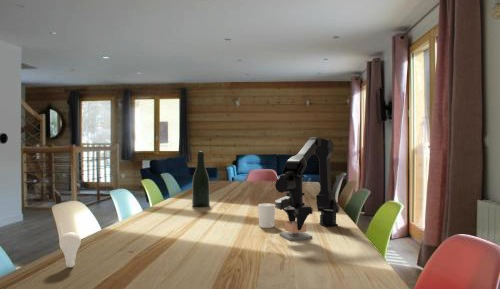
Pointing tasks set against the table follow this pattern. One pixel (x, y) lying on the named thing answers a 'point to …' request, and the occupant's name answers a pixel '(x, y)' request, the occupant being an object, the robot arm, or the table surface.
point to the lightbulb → (70, 247)
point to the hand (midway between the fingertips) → (295, 228)
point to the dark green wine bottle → (200, 184)
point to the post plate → (295, 235)
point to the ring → (294, 227)
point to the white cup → (266, 215)
